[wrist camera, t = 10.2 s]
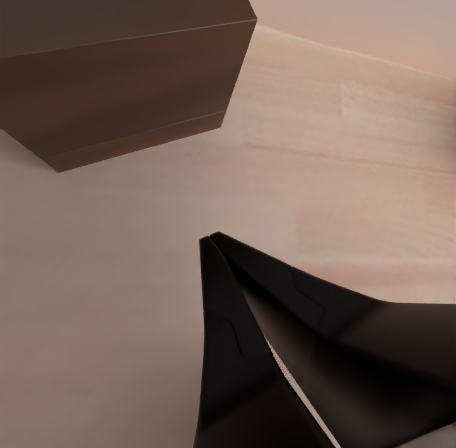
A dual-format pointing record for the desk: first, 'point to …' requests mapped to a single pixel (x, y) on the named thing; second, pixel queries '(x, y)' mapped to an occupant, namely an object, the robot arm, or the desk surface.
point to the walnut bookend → (116, 73)
